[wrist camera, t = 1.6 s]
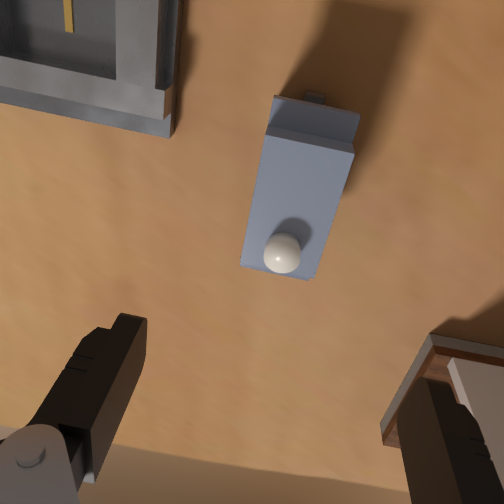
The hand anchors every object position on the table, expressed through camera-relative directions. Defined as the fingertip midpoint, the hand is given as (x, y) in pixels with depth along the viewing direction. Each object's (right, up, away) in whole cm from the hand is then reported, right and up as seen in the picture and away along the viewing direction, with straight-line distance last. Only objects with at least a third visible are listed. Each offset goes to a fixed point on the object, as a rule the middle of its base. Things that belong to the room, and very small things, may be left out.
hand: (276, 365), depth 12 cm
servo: (+2, +8, +13) cm, 16 cm away
